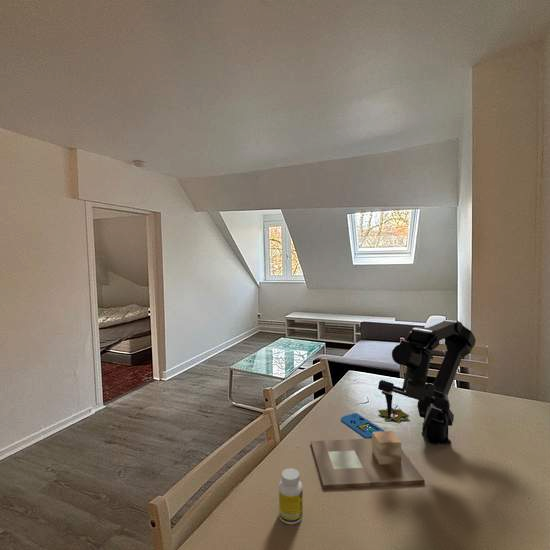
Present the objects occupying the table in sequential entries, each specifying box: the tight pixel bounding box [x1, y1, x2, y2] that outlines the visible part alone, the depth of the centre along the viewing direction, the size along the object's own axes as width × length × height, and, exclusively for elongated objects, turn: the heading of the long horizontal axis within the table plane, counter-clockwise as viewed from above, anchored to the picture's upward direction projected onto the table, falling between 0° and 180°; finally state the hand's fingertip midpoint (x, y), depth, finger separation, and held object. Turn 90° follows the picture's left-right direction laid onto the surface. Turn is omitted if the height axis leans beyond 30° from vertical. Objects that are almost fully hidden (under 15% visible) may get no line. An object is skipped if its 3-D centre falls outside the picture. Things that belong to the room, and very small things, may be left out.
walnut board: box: [310, 438, 426, 490], centre depth 93 cm, size 26×20×1 cm
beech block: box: [372, 430, 402, 464], centre depth 93 cm, size 6×6×6 cm
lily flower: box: [377, 403, 411, 425], centre depth 120 cm, size 12×12×5 cm
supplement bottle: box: [278, 467, 304, 525], centre depth 74 cm, size 5×5×10 cm
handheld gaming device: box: [340, 412, 385, 439], centre depth 113 cm, size 8×1×15 cm
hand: (405, 425), depth 93 cm, fingers open, 9 cm apart
